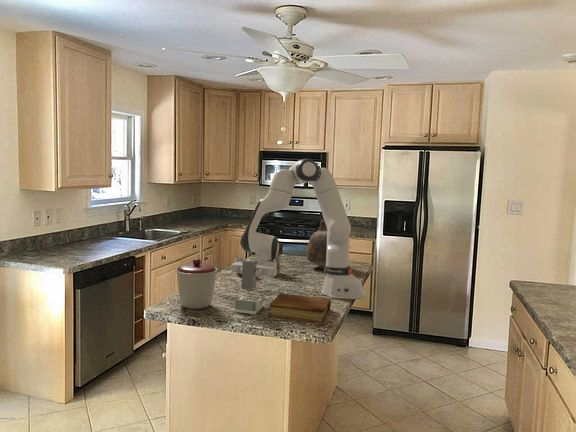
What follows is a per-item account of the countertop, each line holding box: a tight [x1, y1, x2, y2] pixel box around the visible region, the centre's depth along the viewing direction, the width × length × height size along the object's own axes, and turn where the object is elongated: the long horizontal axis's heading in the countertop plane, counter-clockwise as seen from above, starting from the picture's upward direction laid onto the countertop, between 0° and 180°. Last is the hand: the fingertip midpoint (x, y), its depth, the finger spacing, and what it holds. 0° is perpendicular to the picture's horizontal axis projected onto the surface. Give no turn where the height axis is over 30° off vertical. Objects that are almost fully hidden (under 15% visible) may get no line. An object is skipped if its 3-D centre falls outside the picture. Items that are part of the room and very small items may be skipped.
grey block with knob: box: [241, 258, 257, 291], centre depth 203 cm, size 5×5×13 cm
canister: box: [175, 258, 219, 310], centre depth 205 cm, size 18×18×21 cm
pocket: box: [232, 295, 264, 315], centre depth 204 cm, size 10×11×5 cm
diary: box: [268, 292, 332, 324], centre depth 202 cm, size 23×19×6 cm
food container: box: [234, 256, 248, 277], centre depth 264 cm, size 12×6×10 cm, turn 68°
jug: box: [306, 219, 327, 270], centre depth 290 cm, size 24×21×30 cm
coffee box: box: [276, 246, 282, 275], centre depth 272 cm, size 9×6×16 cm
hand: (248, 272), depth 202 cm, fingers closed on grey block with knob, 5 cm apart
